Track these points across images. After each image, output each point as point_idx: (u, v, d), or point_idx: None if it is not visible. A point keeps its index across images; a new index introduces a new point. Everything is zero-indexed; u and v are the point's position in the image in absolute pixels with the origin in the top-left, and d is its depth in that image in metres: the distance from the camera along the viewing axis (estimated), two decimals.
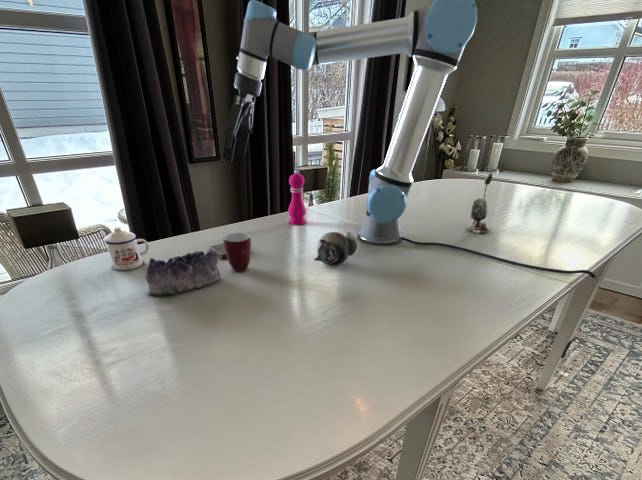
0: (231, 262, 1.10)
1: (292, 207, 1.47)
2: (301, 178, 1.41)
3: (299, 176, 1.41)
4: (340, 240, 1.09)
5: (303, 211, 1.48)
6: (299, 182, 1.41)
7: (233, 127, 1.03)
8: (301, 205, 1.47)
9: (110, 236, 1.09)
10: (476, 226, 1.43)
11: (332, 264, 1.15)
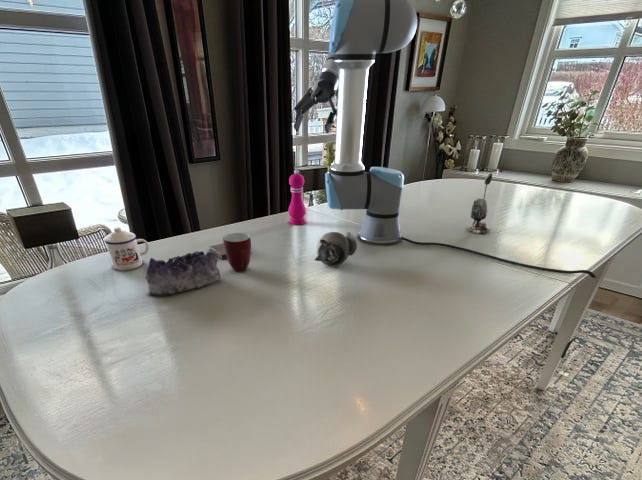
0: (231, 262, 1.10)
1: (292, 207, 1.47)
2: (301, 178, 1.41)
3: (299, 176, 1.41)
4: (340, 240, 1.09)
5: (303, 211, 1.48)
6: (299, 182, 1.41)
7: None
8: (301, 205, 1.47)
9: (110, 236, 1.09)
10: (476, 226, 1.43)
11: (332, 264, 1.15)
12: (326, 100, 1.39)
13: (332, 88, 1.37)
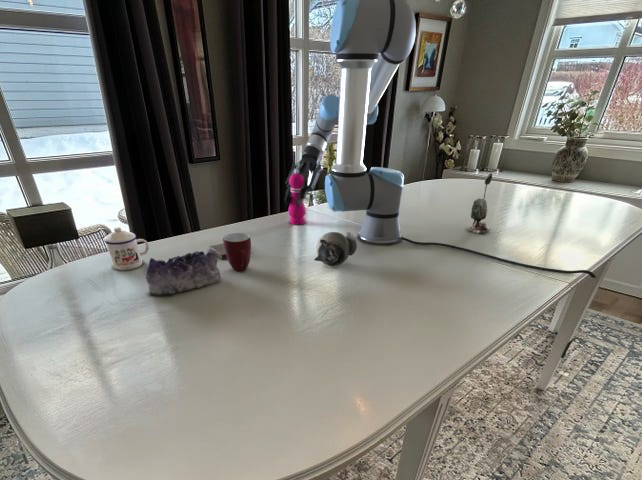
0: (231, 262, 1.10)
1: (292, 207, 1.47)
2: (301, 178, 1.41)
3: (299, 176, 1.41)
4: (340, 240, 1.09)
5: (303, 211, 1.48)
6: (299, 182, 1.41)
7: None
8: (301, 205, 1.47)
9: (110, 236, 1.09)
10: (476, 226, 1.43)
11: (332, 264, 1.15)
12: None
13: (315, 161, 1.44)
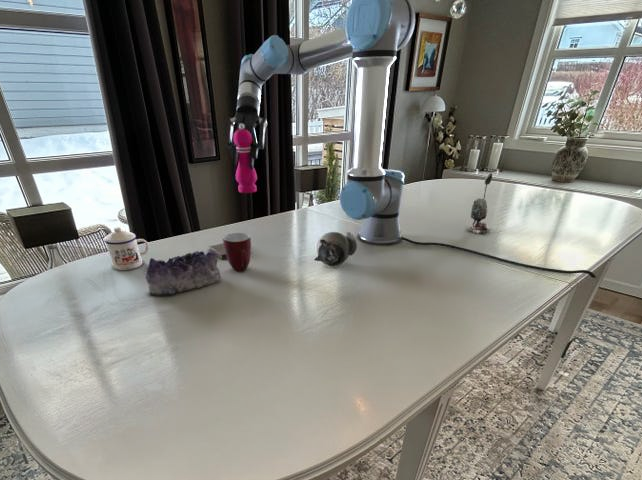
0: (231, 262, 1.10)
1: (243, 171, 1.22)
2: (250, 134, 1.17)
3: (247, 131, 1.17)
4: (340, 240, 1.09)
5: (255, 175, 1.25)
6: (249, 138, 1.17)
7: None
8: None
9: (110, 236, 1.09)
10: (476, 226, 1.43)
11: (332, 264, 1.15)
12: None
13: (256, 114, 1.21)
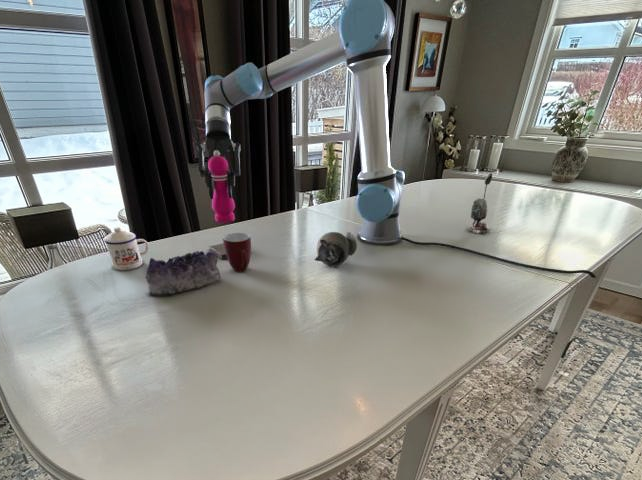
0: (231, 262, 1.10)
1: (221, 200, 1.14)
2: (226, 161, 1.09)
3: (223, 158, 1.09)
4: (340, 240, 1.09)
5: (233, 203, 1.17)
6: (226, 166, 1.09)
7: None
8: None
9: (110, 236, 1.09)
10: (476, 226, 1.43)
11: (332, 264, 1.15)
12: None
13: (229, 139, 1.14)
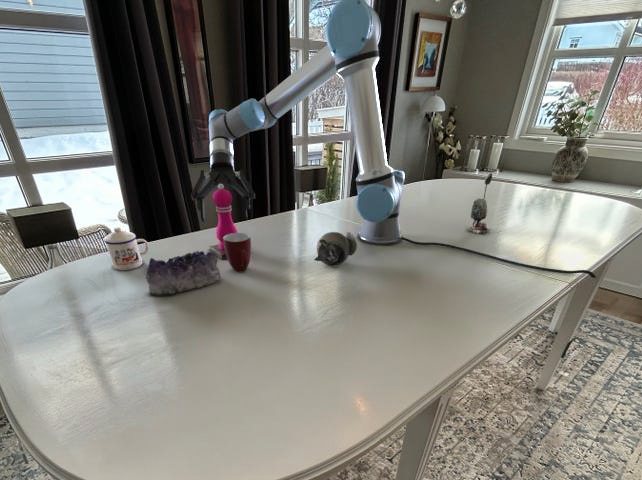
0: (231, 262, 1.10)
1: (225, 230, 1.19)
2: (230, 193, 1.15)
3: (227, 191, 1.14)
4: (340, 240, 1.09)
5: (237, 232, 1.22)
6: (230, 198, 1.15)
7: None
8: (233, 226, 1.21)
9: (110, 236, 1.09)
10: (476, 226, 1.43)
11: (332, 264, 1.15)
12: (229, 183, 1.19)
13: (232, 170, 1.19)
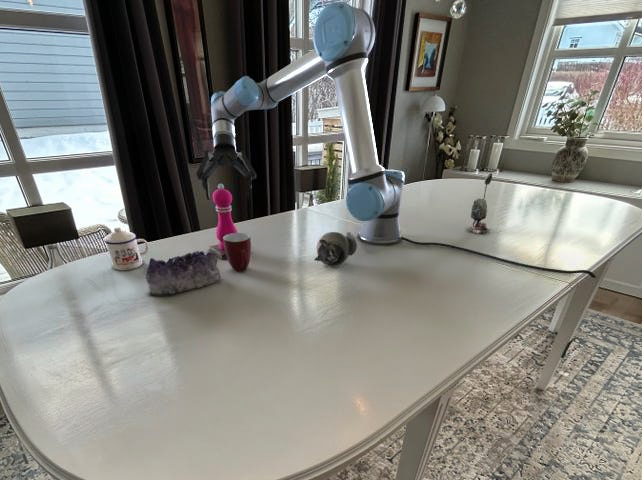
0: (231, 262, 1.10)
1: (225, 230, 1.19)
2: (229, 193, 1.15)
3: (227, 191, 1.14)
4: (340, 240, 1.09)
5: (237, 232, 1.22)
6: (229, 198, 1.15)
7: None
8: (233, 226, 1.21)
9: (110, 236, 1.09)
10: (476, 226, 1.43)
11: (332, 264, 1.15)
12: (231, 164, 1.28)
13: (234, 151, 1.27)
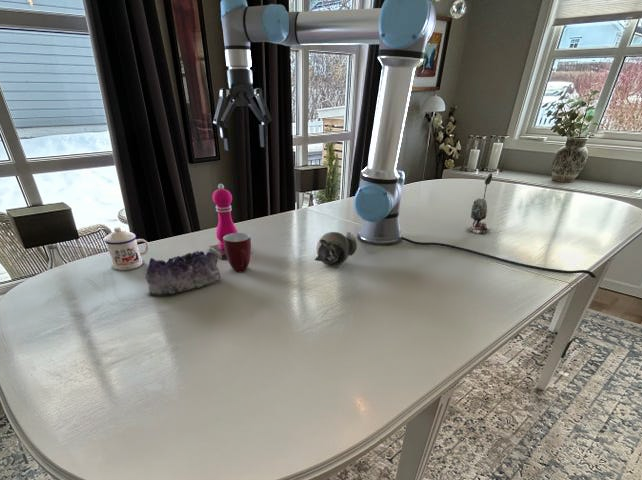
0: (231, 262, 1.10)
1: (225, 230, 1.19)
2: (229, 193, 1.15)
3: (227, 191, 1.14)
4: (340, 240, 1.09)
5: (237, 232, 1.22)
6: (229, 198, 1.15)
7: (217, 117, 1.14)
8: (233, 226, 1.21)
9: (110, 236, 1.09)
10: (476, 226, 1.43)
11: (332, 264, 1.15)
12: None
13: (252, 89, 1.16)
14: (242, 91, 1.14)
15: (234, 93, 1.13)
